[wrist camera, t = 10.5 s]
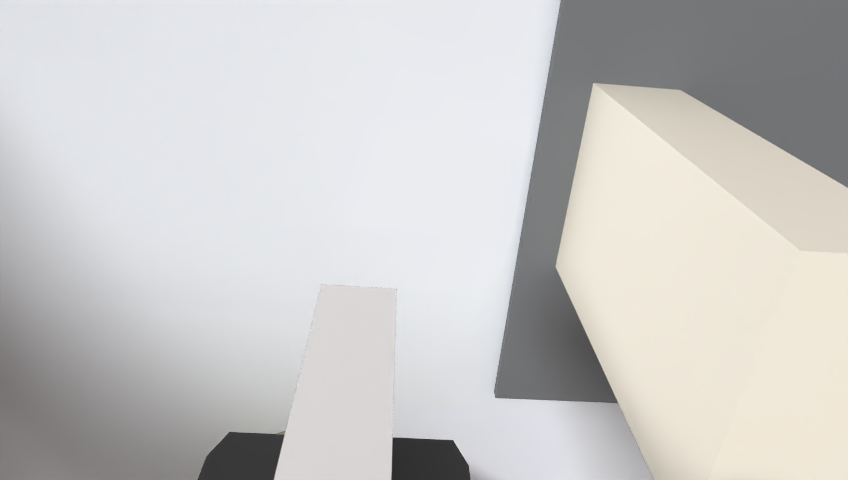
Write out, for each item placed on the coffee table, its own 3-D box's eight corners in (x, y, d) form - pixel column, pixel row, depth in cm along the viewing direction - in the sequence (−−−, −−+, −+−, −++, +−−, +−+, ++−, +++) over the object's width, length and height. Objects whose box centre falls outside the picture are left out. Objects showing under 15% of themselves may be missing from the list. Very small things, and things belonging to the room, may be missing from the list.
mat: (494, 391, 27) (495, 398, 27) (600, -233, 17) (604, -236, 17) (844, 406, 28) (850, 412, 28) (1130, -172, 18) (1145, -174, 18)
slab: (555, 266, 24) (682, 543, 13) (593, 82, 21) (800, 251, 10) (632, 271, 24) (820, 547, 13) (681, 90, 21) (976, 261, 10)
